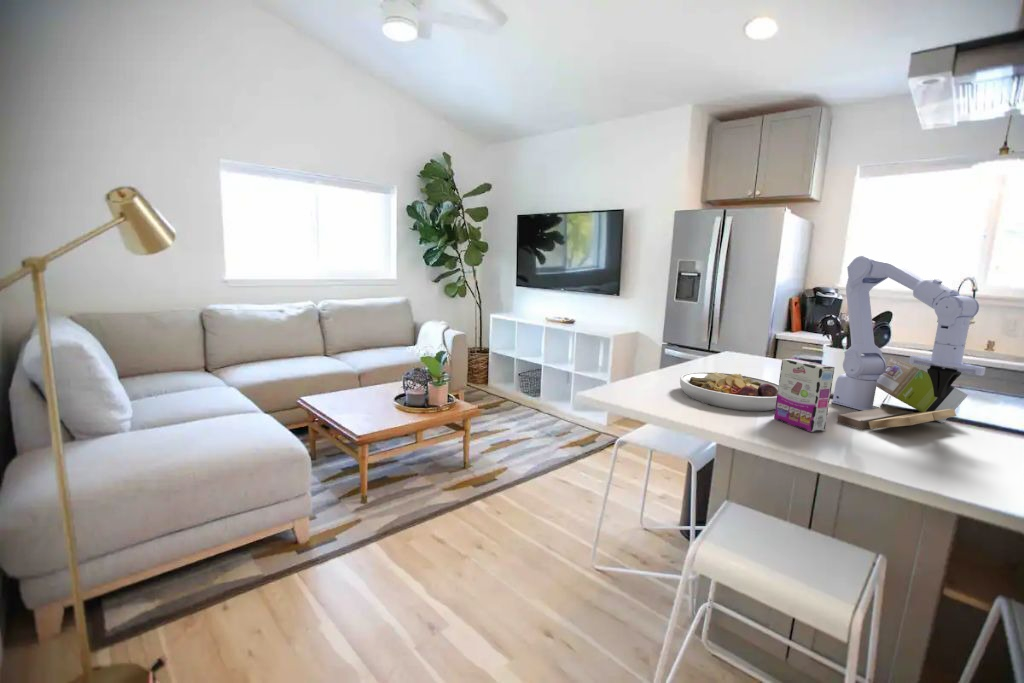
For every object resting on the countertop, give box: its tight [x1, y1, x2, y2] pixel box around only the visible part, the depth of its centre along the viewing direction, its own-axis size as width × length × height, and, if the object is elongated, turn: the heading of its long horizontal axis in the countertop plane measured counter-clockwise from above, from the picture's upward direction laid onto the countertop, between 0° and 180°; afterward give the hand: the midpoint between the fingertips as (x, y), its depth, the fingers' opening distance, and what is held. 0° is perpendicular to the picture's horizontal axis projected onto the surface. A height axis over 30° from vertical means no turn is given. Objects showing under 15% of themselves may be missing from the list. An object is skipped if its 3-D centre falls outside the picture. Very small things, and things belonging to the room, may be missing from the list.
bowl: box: [679, 371, 779, 412], centre depth 146 cm, size 30×30×8 cm
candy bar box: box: [773, 358, 835, 433], centre depth 122 cm, size 11×5×16 cm, turn 21°
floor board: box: [836, 405, 914, 430], centre depth 129 cm, size 6×24×2 cm, turn 116°
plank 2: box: [896, 409, 957, 421], centre depth 124 cm, size 9×11×2 cm
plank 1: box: [869, 413, 935, 430], centre depth 120 cm, size 9×11×2 cm
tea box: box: [876, 356, 969, 424], centre depth 137 cm, size 15×10×15 cm
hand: (939, 397), depth 122 cm, fingers closed
